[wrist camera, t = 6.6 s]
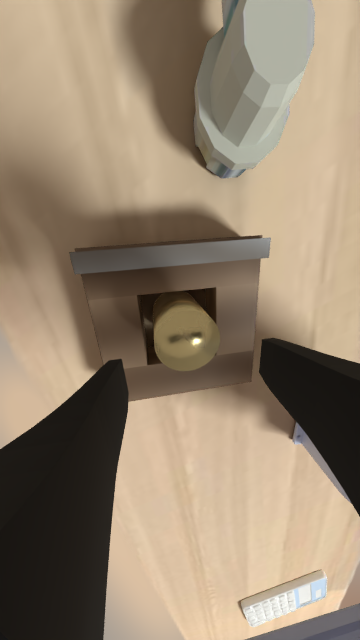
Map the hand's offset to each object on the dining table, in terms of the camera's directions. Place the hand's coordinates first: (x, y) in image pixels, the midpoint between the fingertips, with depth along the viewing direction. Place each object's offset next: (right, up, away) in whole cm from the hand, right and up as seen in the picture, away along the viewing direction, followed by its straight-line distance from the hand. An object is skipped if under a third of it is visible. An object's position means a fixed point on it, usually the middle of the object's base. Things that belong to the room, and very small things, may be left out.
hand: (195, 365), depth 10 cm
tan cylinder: (-1, +3, +7) cm, 8 cm away
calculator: (+23, -62, +36) cm, 75 cm away
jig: (-1, +3, +7) cm, 8 cm away
